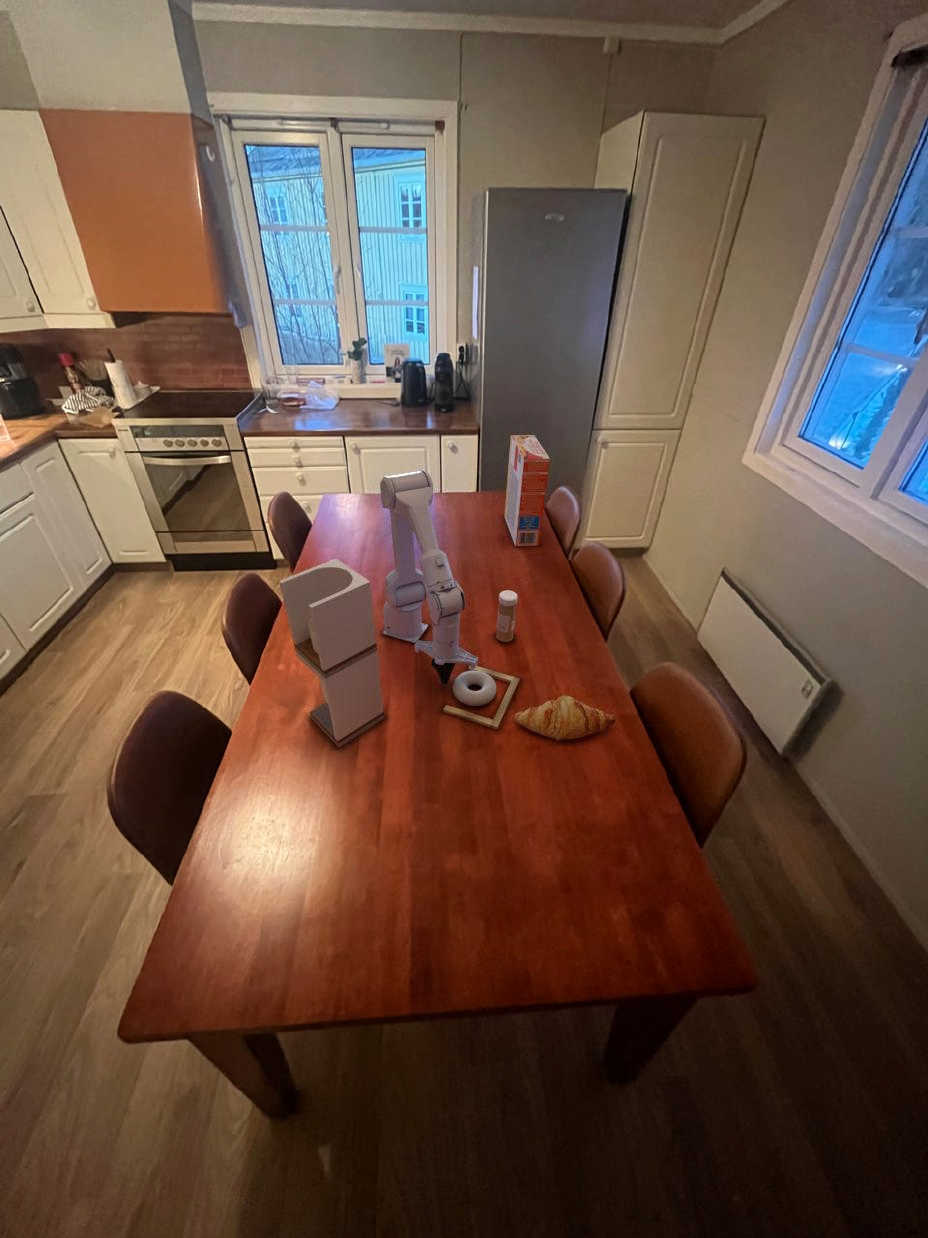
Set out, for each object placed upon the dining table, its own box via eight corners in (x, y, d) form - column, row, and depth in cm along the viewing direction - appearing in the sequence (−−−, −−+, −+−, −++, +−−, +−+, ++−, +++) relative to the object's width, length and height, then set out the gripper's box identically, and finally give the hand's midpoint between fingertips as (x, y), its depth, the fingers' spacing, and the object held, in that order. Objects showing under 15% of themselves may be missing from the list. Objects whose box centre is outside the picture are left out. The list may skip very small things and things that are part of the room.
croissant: (513, 744, 108) (517, 736, 100) (512, 698, 112) (515, 688, 104) (612, 745, 107) (623, 737, 100) (607, 699, 112) (617, 688, 104)
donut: (493, 677, 119) (451, 678, 118) (494, 666, 117) (451, 667, 116) (498, 709, 111) (453, 710, 110) (499, 698, 109) (454, 699, 108)
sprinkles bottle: (516, 639, 131) (521, 596, 122) (502, 645, 129) (506, 602, 120) (506, 629, 134) (510, 587, 125) (492, 635, 132) (495, 592, 123)
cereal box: (538, 545, 171) (550, 458, 153) (515, 546, 170) (523, 458, 152) (525, 516, 189) (534, 435, 171) (504, 516, 188) (510, 435, 170)
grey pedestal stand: (355, 692, 114) (335, 558, 93) (384, 718, 108) (370, 581, 87) (311, 718, 107) (279, 580, 86) (338, 747, 102) (311, 607, 80)
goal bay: (443, 711, 110) (443, 709, 109) (470, 666, 122) (470, 663, 121) (497, 729, 106) (497, 727, 106) (519, 681, 118) (519, 678, 118)
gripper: (407, 637, 107) (409, 683, 115) (470, 655, 103) (468, 701, 111) (421, 619, 112) (423, 664, 121) (482, 636, 108) (479, 681, 116)
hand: (445, 681), depth 116 cm, fingers closed
